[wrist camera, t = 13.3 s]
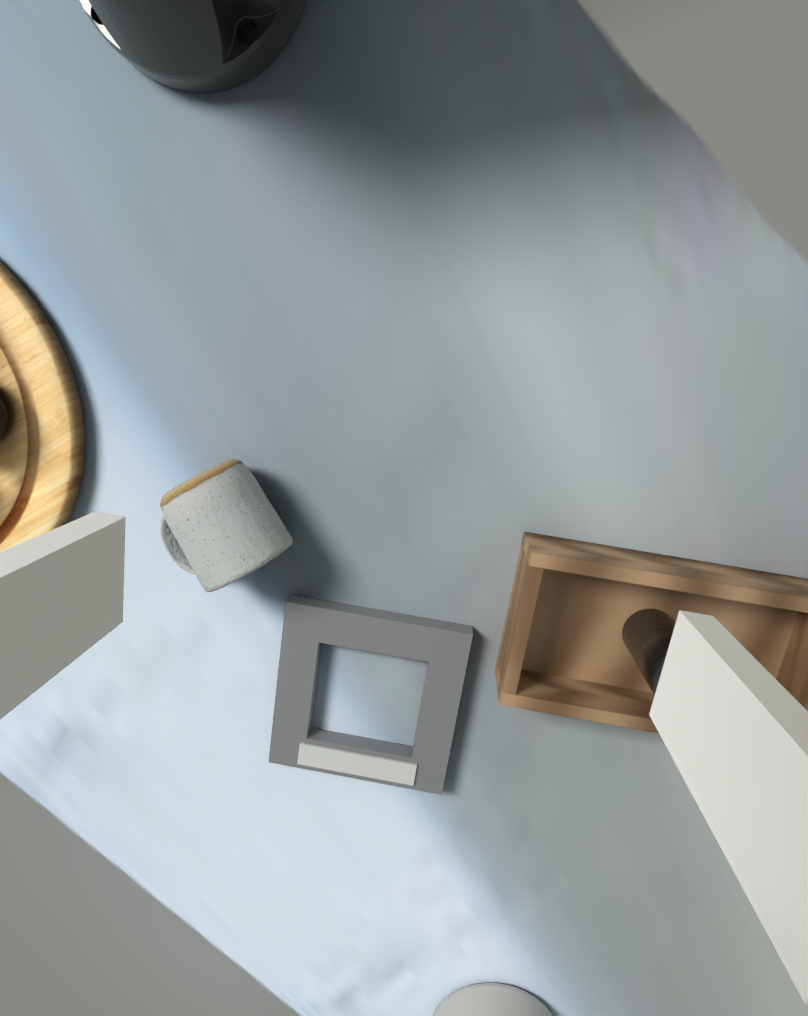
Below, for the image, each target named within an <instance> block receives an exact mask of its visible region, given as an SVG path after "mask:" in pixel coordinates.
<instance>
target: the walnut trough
mask: <svg viewBox="0 0 808 1016" xmlns="http://www.w3.org/2000/svg"><path fill="white" fill-rule="evenodd" d="M643 609H658V610H661V611H663V612H665V613H666V614H668V615H669V616H670V617H671V618H672V620H673V621H674V622H675V623H676V620H677V617H678V613H679V610H681V611H687V612H693V613H699V614H705V615H711V616H714V617H715V618H716V619H717V620H718V621H719V622H720V623H721V624H722V625H723V626H724V627H725V628H726V629H727V630H728V631H729V632H730V633H731V634H732V635H733V636H734V637H735V638H736V639H737V641H738V642H739V643H740V644H741V645H742V646H743V647H744V648H745V649H746V650H747V651H748V652H749V653H750V654H751V655H752V656H753V657H754V658H755V659H756V660H757V661H758V662H759V663H760V664H761V665H762V666H763V667H764V668H765V669H766V670H767V671H768V672H769V673H770V674H771V675H772V676H773V677H774V678H775V679H776V680H777V681H778V682H779V683H780V684H781V685H782V686H783V687H784V688H785V689H786V690H787V691H788V692H789V693H790V694H791V695H792V696H793V697H794V698H795V699H796V700H797V701H798V702H799V703H800V704H801V705H802V706H803V707H804V708H805V709H806V710H807V711H808V579H805V578H799V577H793V576H787V575H781V574H775V573H769V572H763V571H757V570H751V569H745V568H739V567H733V566H727V565H721V564H715V563H709V562H703V561H697V560H691V559H685V558H679V557H673V556H667V555H661V554H655V553H649V552H643V551H637V550H631V549H625V548H619V547H613V546H607V545H601V544H595V543H589V542H583V541H577V540H571V539H565V538H559V537H553V536H547V535H541V534H535V533H529V532H524V535H523V540H522V545H521V550H520V554H519V559H518V564H517V569H516V573H515V578H514V583H513V588H512V592H511V597H510V602H509V607H508V612H507V616H506V621H505V626H504V631H503V635H502V640H501V645H500V650H499V654H498V659H497V664H496V669H495V673H496V681H497V689H498V697H499V705H505V706H510V707H516V708H521V709H527V710H533V711H538V712H544V713H549V714H555V715H560V716H566V717H572V718H577V719H583V720H588V721H594V722H599V723H605V724H610V725H616V726H622V727H627V728H633V729H638V730H644V731H649V732H655V733H659V732H658V730H657V728H656V727H655V725H654V723H653V721H652V719H651V717H650V715H649V713H650V710H651V706H652V703H653V700H654V694H653V692H652V690H651V689H650V687H649V685H648V684H647V682H646V680H645V678H644V677H643V675H642V673H641V671H640V670H639V668H638V666H637V664H636V663H635V661H634V659H633V658H632V656H631V654H630V652H629V651H628V649H627V647H626V645H625V644H624V641H623V638H622V629H623V626H624V623H625V622H626V620H627V619H628V618H629V617H630V616H631V615H632V614H634V613H635V612H637V611H639V610H643Z"/></svg>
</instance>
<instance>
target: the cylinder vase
mask: <svg viewBox="0 0 808 1016" xmlns="http://www.w3.org/2000/svg"><path fill="white" fill-rule="evenodd" d="M433 1016H553V1015H552V1014H551V1012H550V1011H549V1010H548V1008H547V1007H546V1006H545V1005H544V1004H543V1003H542V1002H541V1001H540V1000H538V999H537V998H536V997H534V996H533V995H531V994H530V993H528V992H526V991H524V990H522V989H519V988H517V987H514V986H510V985H506V984H500V983H479V984H473V985H469V986H466V987H463V988H461V989H458V990H456V991H455V992H453V993H451V994H450V995H449V996H447V997H446V998H445V999H444V1000H443V1001H442V1002H441V1003H440V1004H439V1006H438V1007H437V1009H436V1010H435V1012H434V1014H433Z"/></svg>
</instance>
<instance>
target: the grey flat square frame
mask: <svg viewBox="0 0 808 1016" xmlns="http://www.w3.org/2000/svg"><path fill="white" fill-rule="evenodd" d="M472 637H473V627H472V626H468V625H462V624H457V623H451V622H445V621H439V620H434V619H428V618H422V617H416V616H411V615H405V614H399V613H393V612H388V611H382V610H376V609H370V608H365V607H359V606H353V605H347V604H342V603H336V602H330V601H324V600H319V599H313V598H307V597H301V596H296V595H290V596H289V598H288V599H287V601H286V603H285V613H284V622H283V632H282V641H281V651H280V660H279V670H278V679H277V689H276V698H275V708H274V717H273V727H272V736H271V745H270V755H269V762H271V763H276V764H282V765H287V766H292V767H298V768H303V769H308V770H314V771H319V772H324V773H330V774H335V775H340V776H346V777H351V778H356V779H362V780H367V781H372V782H378V783H383V784H388V785H394V786H399V787H405V788H410V789H415V790H421V791H426V792H431V793H437V794H442V790H443V785H444V780H445V775H446V770H447V765H448V760H449V754H450V749H451V744H452V739H453V734H454V729H455V724H456V719H457V714H458V709H459V703H460V698H461V693H462V688H463V683H464V678H465V673H466V668H467V663H468V658H469V653H470V647H471V642H472ZM321 643H324V644H330V645H336V646H341V647H347V648H353V649H358V650H364V651H370V652H375V653H381V654H386V655H392V656H398V657H403V658H409V659H415V660H420V661H426V662H428V666H427V672H426V678H425V683H424V689H423V695H422V700H421V706H420V711H419V717H418V723H417V728H416V734H415V740H414V745H413V746H407V745H402V744H397V743H391V742H386V741H380V740H375V739H369V738H364V737H359V736H353V735H348V734H342V733H337V732H331V731H326V730H321V729H315V728H311V723H312V715H313V707H314V699H315V691H316V682H317V674H318V666H319V658H320V650H321Z"/></svg>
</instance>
